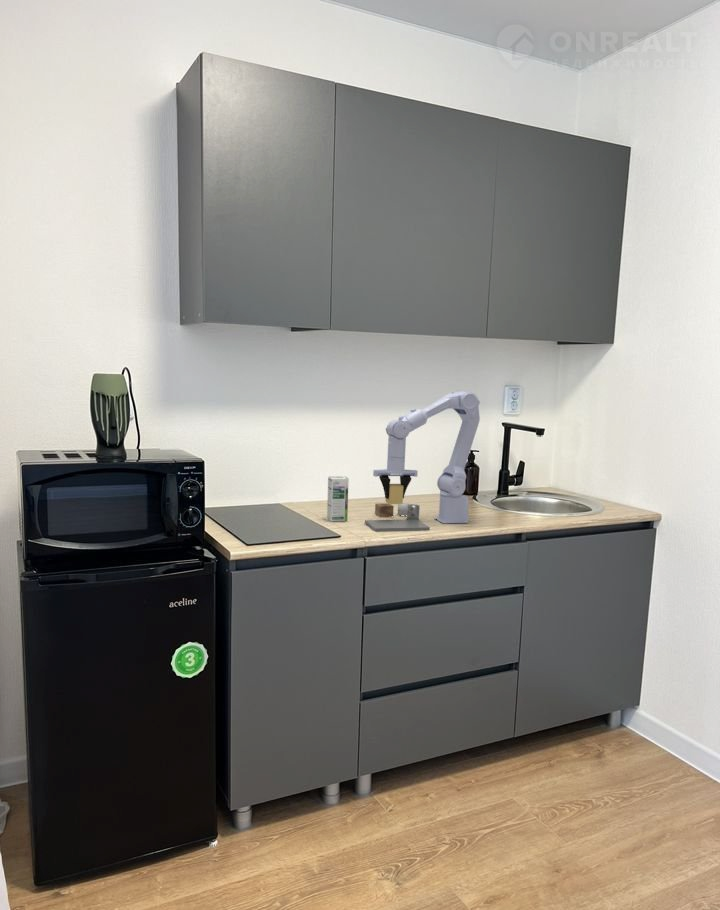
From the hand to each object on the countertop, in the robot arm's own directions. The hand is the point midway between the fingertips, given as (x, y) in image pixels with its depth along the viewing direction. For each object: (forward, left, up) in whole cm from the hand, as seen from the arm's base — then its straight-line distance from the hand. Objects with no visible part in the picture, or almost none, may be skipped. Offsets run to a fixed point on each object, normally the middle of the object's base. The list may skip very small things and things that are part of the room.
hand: (394, 498), depth 230 cm
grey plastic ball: (-8, -12, -8) cm, 17 cm away
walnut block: (-1, -12, -9) cm, 15 cm away
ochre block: (0, 0, -2) cm, 2 cm away
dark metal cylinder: (-9, -5, -8) cm, 13 cm away
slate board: (0, +5, -8) cm, 10 cm away
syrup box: (+17, -7, -9) cm, 21 cm away
